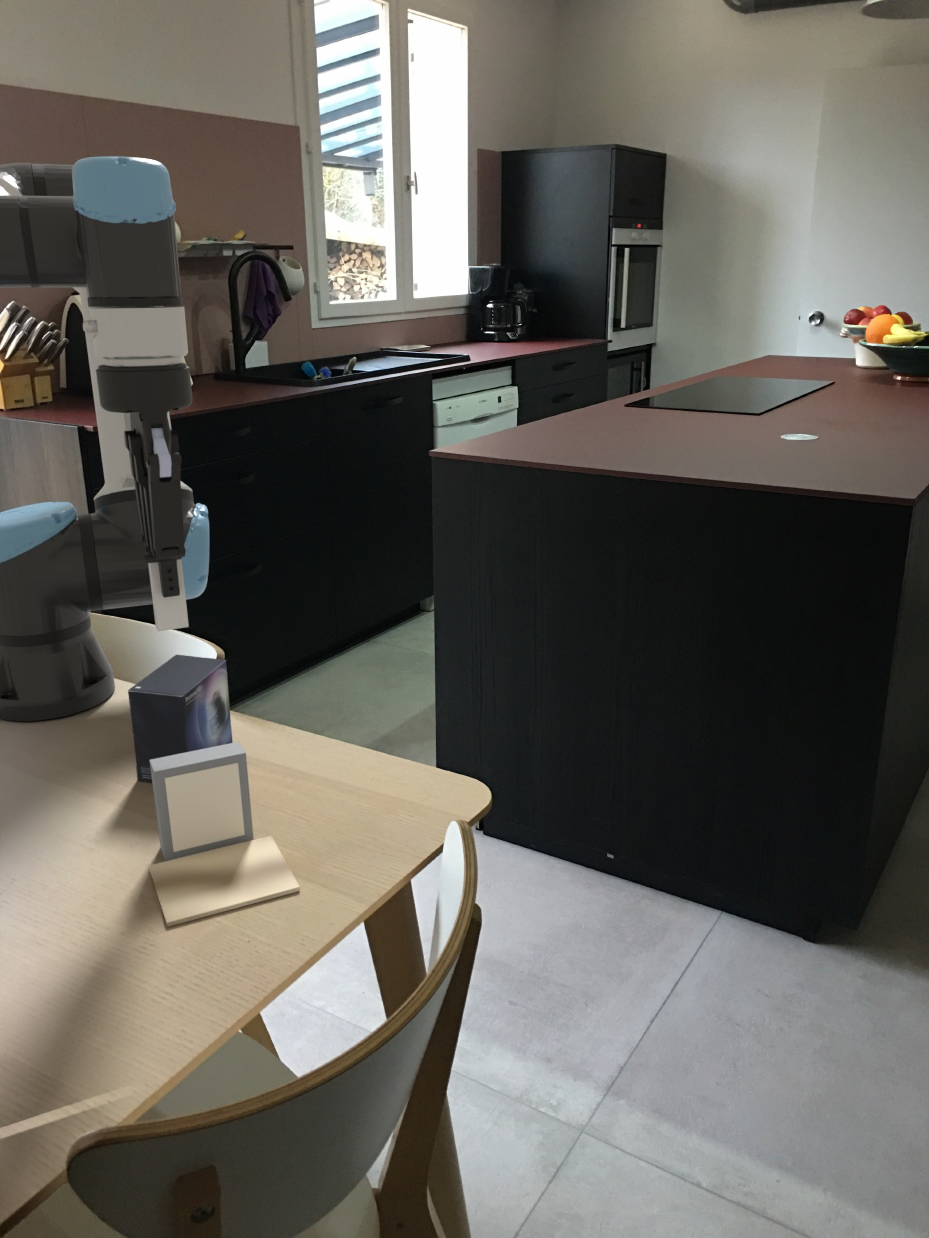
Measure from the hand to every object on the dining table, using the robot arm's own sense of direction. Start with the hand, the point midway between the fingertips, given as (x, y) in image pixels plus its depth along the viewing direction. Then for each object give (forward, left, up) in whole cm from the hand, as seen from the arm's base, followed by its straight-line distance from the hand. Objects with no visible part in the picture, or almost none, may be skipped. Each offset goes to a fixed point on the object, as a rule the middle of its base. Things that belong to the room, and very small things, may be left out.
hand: (172, 626), depth 89 cm
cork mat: (+13, 0, -19) cm, 23 cm away
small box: (-10, +2, -19) cm, 22 cm away
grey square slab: (+7, 0, -19) cm, 20 cm away
